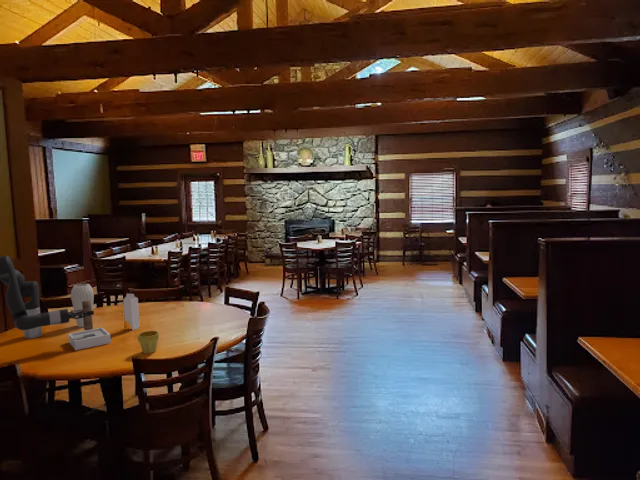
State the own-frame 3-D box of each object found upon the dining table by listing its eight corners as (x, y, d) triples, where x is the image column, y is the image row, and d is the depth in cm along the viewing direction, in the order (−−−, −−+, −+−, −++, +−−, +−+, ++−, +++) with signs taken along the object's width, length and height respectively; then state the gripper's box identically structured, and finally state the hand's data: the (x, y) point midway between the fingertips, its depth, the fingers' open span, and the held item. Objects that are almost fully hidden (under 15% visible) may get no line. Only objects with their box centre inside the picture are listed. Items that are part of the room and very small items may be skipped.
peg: (84, 328, 267) (82, 300, 265) (93, 327, 269) (91, 300, 267) (83, 330, 263) (81, 302, 261) (92, 329, 264) (90, 301, 263)
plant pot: (142, 356, 242) (140, 337, 241) (136, 351, 250) (135, 333, 249) (162, 351, 248) (161, 333, 247) (156, 346, 256) (155, 329, 255)
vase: (68, 328, 298) (64, 287, 295) (83, 322, 311) (80, 282, 308) (86, 328, 294) (82, 287, 292) (101, 322, 307) (97, 283, 305)
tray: (69, 342, 268) (68, 333, 268) (102, 335, 279) (102, 327, 279) (75, 350, 254) (74, 341, 254) (110, 342, 265) (110, 334, 265)
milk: (132, 327, 296) (129, 292, 294) (140, 327, 294) (137, 293, 292) (125, 329, 290) (122, 294, 288) (133, 330, 288) (130, 295, 286)
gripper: (60, 312, 250) (95, 307, 261) (55, 308, 261) (89, 303, 272) (61, 326, 251) (96, 320, 261) (56, 321, 262) (90, 315, 272)
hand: (92, 311), depth 266 cm, fingers closed on peg, 4 cm apart
